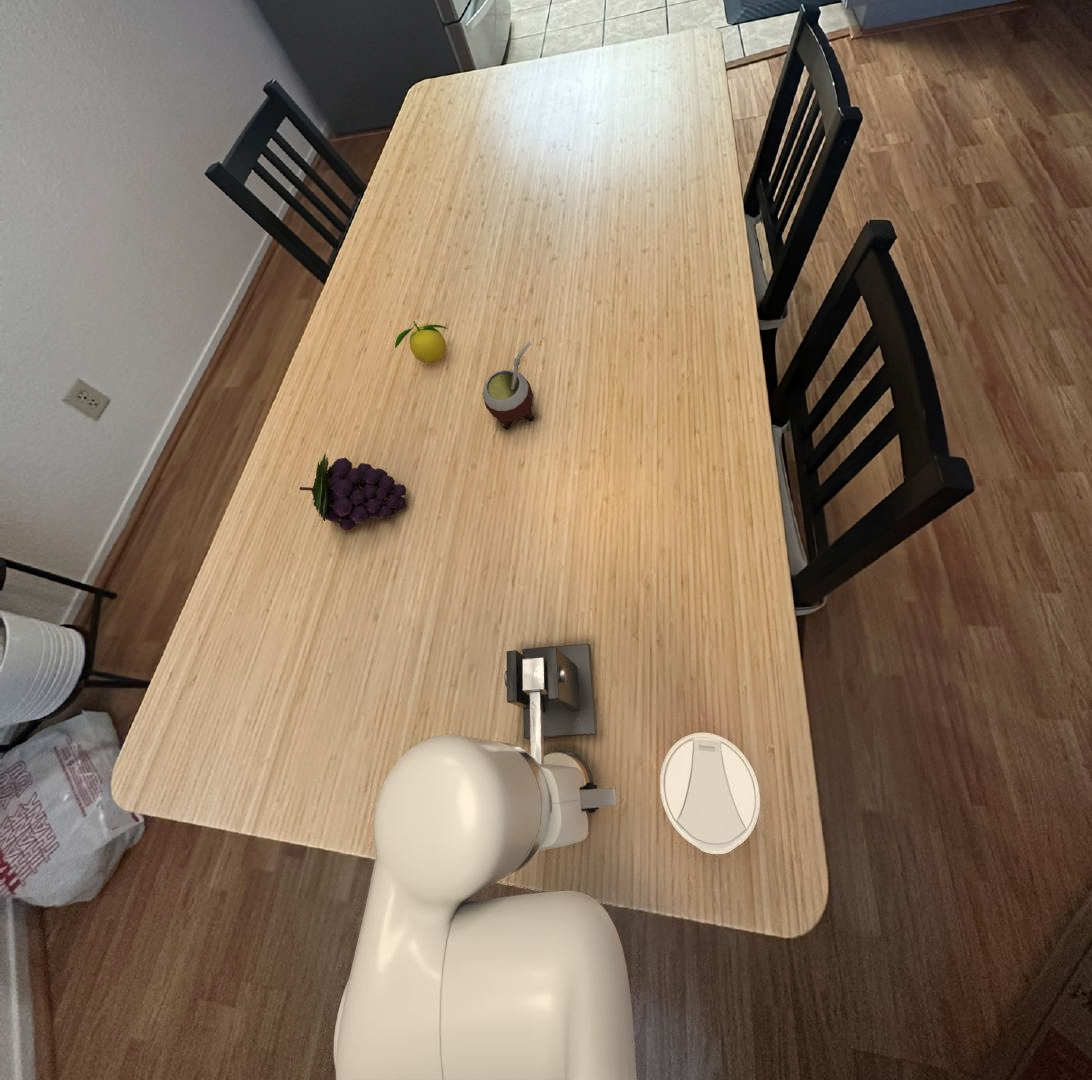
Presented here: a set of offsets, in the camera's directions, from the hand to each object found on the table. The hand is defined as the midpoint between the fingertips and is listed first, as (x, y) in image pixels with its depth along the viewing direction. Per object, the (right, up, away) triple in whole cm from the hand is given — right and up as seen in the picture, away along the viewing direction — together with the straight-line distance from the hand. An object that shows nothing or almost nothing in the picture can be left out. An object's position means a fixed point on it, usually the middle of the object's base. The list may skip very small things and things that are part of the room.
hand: (544, 798), depth 56 cm
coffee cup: (+17, -4, +7) cm, 18 cm away
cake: (+2, -5, +9) cm, 11 cm away
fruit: (-26, +19, +33) cm, 46 cm away
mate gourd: (-4, +32, +36) cm, 49 cm away
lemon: (-18, +40, +45) cm, 63 cm away
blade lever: (0, +5, +2) cm, 5 cm away
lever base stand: (+2, +2, +14) cm, 14 cm away
